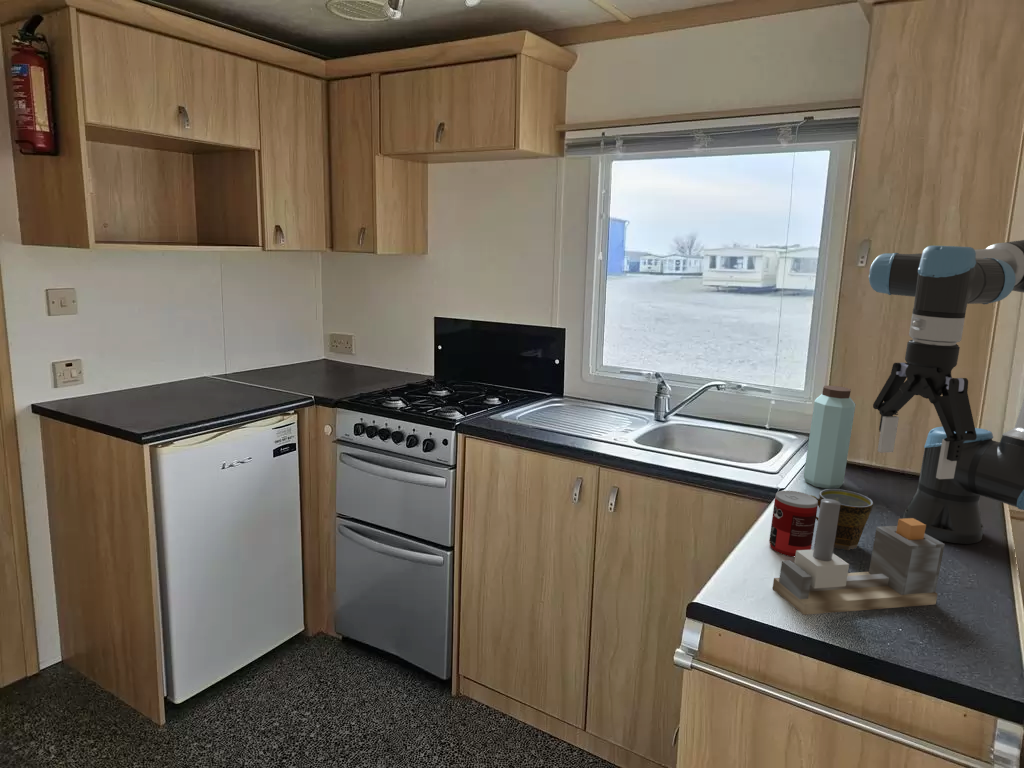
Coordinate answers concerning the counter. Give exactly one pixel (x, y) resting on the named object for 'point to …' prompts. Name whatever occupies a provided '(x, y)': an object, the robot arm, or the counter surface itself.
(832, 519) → the carriage
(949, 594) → the counter surface
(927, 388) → the robot arm
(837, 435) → the water bottle
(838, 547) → the ceramic cup
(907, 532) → the button
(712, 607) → the counter surface
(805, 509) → the canned food
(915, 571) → the rail stand
